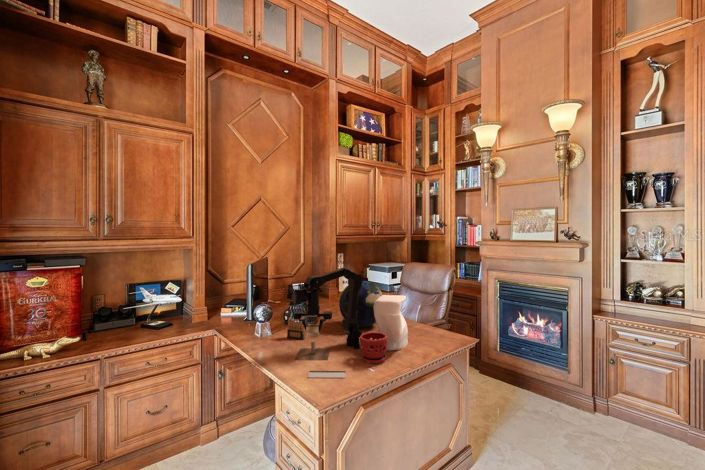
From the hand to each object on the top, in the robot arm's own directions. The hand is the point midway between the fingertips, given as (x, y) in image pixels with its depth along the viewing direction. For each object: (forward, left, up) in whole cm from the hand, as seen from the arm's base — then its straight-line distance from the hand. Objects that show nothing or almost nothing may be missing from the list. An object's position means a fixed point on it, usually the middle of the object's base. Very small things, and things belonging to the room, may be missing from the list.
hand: (313, 332), depth 165 cm
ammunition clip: (+14, -27, -12) cm, 33 cm away
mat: (-9, +18, -12) cm, 23 cm away
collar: (0, 0, -2) cm, 2 cm away
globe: (-25, -52, -12) cm, 59 cm away
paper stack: (-39, -15, -12) cm, 44 cm away
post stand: (0, 0, -12) cm, 12 cm away
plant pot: (-30, +5, -12) cm, 33 cm away
